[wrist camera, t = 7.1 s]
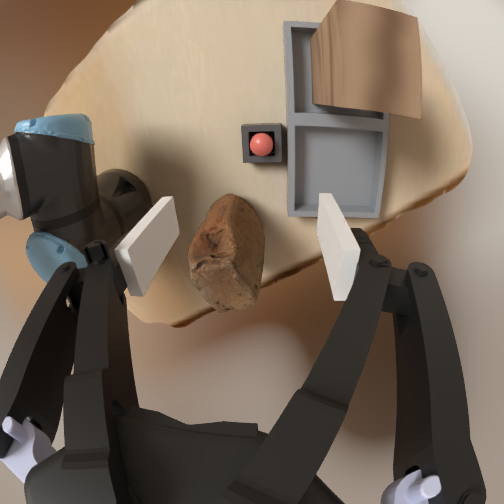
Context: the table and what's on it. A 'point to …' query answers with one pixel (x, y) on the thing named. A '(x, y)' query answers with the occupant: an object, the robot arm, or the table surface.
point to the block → (228, 255)
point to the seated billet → (367, 60)
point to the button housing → (247, 154)
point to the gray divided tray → (329, 141)
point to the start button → (261, 144)
